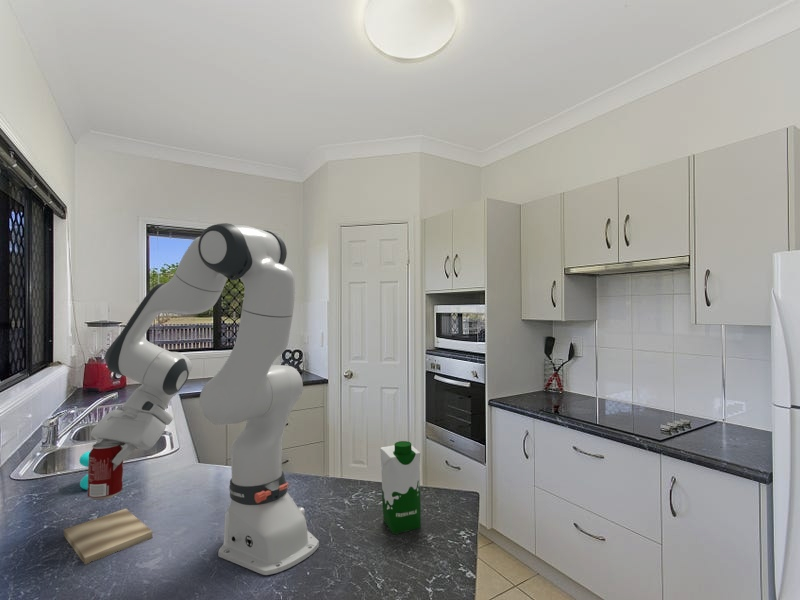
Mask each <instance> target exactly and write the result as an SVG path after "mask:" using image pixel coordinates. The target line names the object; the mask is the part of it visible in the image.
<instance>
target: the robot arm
mask: <svg viewBox="0 0 800 600" xmlns="http://www.w3.org/2000/svg"><path fill="white" fill-rule="evenodd" d="M287 255H288V251H287V247H286V244H285V241H284V240H283V239H282V238H281V237H280V236H279V235H278V234H276V233H275V232H272V231H269V230H265V229H263V230H262V229H259V228H256V227H253V226H251V225H243V224H232V223H227V222H226V223H217V224H212V225H210V226H208V227H207V228H205V229H204V230H203V231H202V233H201V235H200V236H197V237H196V238H195V239H193V241H192V242H191V243H190V244H189V246H188V248H187V249H186V251H185V252H184V254H183V256H182V258H181V260H180V261H179V264H178V266H177V268H176V270H175V272H174V274H173V276H172V277H171V278H170V280H169V281H167V282H166V283H163V282H161V283H158V284H156V285H154V287H152V288H151V289H150V290H149V292H148V293H147V294H146V295H145V296H144V297H143V299H142V301H141V302H140V303H139V305H138V307H136V310H135V311H134V312H133V314H132V315H131V317H130V318H129V320H128V321H127V323H126V325H125V326H124V327H123V329H122V331H121V332H120V333H119V335H118V336H117V337H116V338H115V339H114V341H113V342H112V343H111V345H110V346H109V348H108V349H107V350H106V352H105V354H104V360H105V365H106V367H107V369H108V370H109V372H112V373H115V374H116V375H120V376H122V377H127V378H129V379H131V380H132V381H133V380H134V381H135V382H137V383H140V384H141V385H140V386H138V387H137V388H135V390H134V391H133V392H132V393H131V395H130V396H129V397H128V398H127V399H126V401H125V402H124V403H123V405H122V406H118V408H116V409H112V410H111V411H109V412H108V413H106V414H105V415H104V416H103V417H102V418H101V419H100V420H99V421H98V422H97V424H96V425H94V427H93V428H92V429H91V431H90V437H92V438H93V439H95V440H97V441H96V442H95V444H97V443H100V442H105V441H118V442H121V444H120V445H121V446H122V448H123V449H122V450H121V451H120V452H119V453H118V454H117V455H115V454H114V456H113V457H112V458H111V460H110V462H111V463H112V464H115V465H119V464H120V463H121V462H122V461H123V462H124V460H125V459H126V458H127V457H128V456H131V455H132V454H133V453H134V451H135V450H136V449H137V450H142V451H144V452H145V451H149V450H151V449H152V448H153V447H154V446H155V445H156V444H157V442H158V441H159V440H160V438H161V436H162V435H163V433H164V432H165V431H166V428H167V426H169V425H170V424H171V423H172V422H173V420H174V418H173V416H172V415H171V414H169V413H168V412H167V410H166V409H167V408H168V406H169V403H170V401H171V400H172V399H173V397H175V396H176V395H178V392H180V391H181V389H182V388H183V386H184V385H185V384H186V382H187V381H188V378H189V376H190V373H191V371H192V368H193V363H192V362H191V359H190V358H189V357H188V356H186V355H185V354H183V353H181V352H179V351H169V350H168V349H165V348H163V347H160V346H159V345H157V344H155V343H152V342H151V341H148V339H147V338H146V337H145V334H146V333H147V332H148V330H149V329H150V327H151V325H152V324H153V323H154V321H156V318H157V317H158V316H159V314H163V313H165V314H166V313H167V314H178V315H198V314H202V313H205V312H207V311H210V310H211V309H212V308H213V307H214V306H215V305H216V303H217V302H218V300H219V299H220V297H221V295H222V292H223V289H224V288H225V285H226V283H227V281H228V280H230V281H237V280H239V279H240V281H241V282H242V284H243V287H244V291H243V292H244V293H243V294H244V295H243V301H242V307H241V314H240V319H239V324H238V330H237V335H236V340H235V343H234V346H233V348H232V350H231V352H230V354H229V356H228V358H227V360H226V361H225V363H224V364H223V366H222V367H221V368H220V370H219V371H218V372H217V373H216V374H215V375H214V376H213V377H212V378H211V379H210V380H208V381H207V382H205V384H204V385H203V387H202V389H201V391H200V395H199V399H198V400H199V409H200V412H201V413H202V416H203V417H204V418H205V420H206V421H208V422H209V423H211V424H212V425H215V426H222V425H234V424H235V425H236V424H240V423H243V422H246V423H245V425H244V427H243V430H242V431H241V432H240V434H238V436H237V437H236V438H235V439H234V441H233V442H232V445H231V447H230V448H231V449H230V456H231V457H230V459H231V462H230V464H231V465H230V466H231V478H230V479H229V487H228V490H229V498H230V503H229V506H228V509H227V511H226V512H225V515H224V527H223V528H224V530H223V544H222V545H221V546H220V548H219V549H218V553H217V554H218V557H219V558H220V559H223V560H225V561H229V562H231V563H234V564H236V565H239V566H241V567H243V568H246V569H248V570H250V571H252V572H256V573H258V574H260V575H262V576H269V575H273V574H277V573H280V572H283V571H285V570H288V569H291V568H292V567H294V566H296V565H298V564H299V563H301V562H303V561H304V560H306V559H307V558H308V557H310V556H311V555H312V554H314V553H315V552H316V551H317V549H318V548H319V546H320V542H319V539H317V538H316V537H315V535H314V534H312V533H311V532H310V531H309V530H308V527H307V526H308V525H307V520H306V511H305V509H304V507H302V506H301V507H298V506H297V504H296V503H295V501H294V498H293V497H291V495H290V494H289V492H288V489H289V488H290V486H288V485H290V483H289V482H287V479H286V477H285V473H284V471H283V438H284V432H285V429H286V425H287V424H288V423H287V422H288V419H289V416H290V415H291V411H292V410H293V407H294V406H295V405H296V403H297V401H298V400H299V399H300V398H301V396H302V393H303V391H304V384H303V379H302V376H301V374H300V373H299V371H298V370H297V369H296V368H295V367H294V366H291V365H285V364H284V365H283V364H274V363H275V362H276V360H277V359H278V358H279V357H280V356H281V355H282V354H283V353H284V352H285V351H286V349H287V347H288V344H289V340H290V334H291V327H292V321H293V315H294V310H295V309H294V308H295V294H296V292H295V289H296V288H295V287H296V286H295V284H296V283H295V276H294V272H293V271H292V269H290V268H289V267H288V266H286V265H284V264H285V262H286V261H287V260H286V259H287V257H288V256H287Z"/></svg>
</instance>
